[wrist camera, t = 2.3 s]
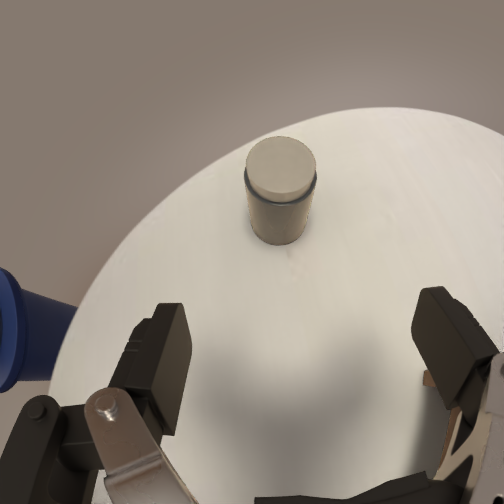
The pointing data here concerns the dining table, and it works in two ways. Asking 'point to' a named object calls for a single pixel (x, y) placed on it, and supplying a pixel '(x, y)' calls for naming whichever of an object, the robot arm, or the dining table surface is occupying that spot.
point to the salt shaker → (279, 188)
